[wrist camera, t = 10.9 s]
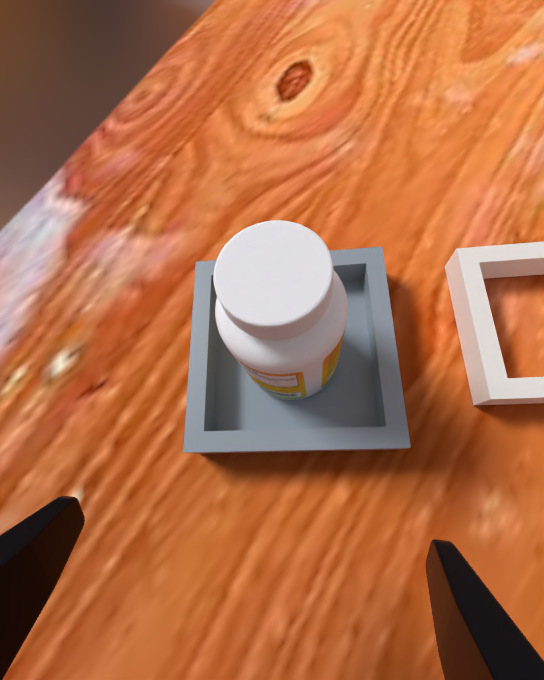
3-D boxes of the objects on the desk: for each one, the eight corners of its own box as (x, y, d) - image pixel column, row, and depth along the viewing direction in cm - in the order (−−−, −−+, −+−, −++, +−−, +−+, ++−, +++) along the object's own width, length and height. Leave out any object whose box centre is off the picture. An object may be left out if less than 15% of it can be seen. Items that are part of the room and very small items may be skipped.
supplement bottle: (310, 298, 21) (306, 177, 12) (356, 373, 20) (391, 297, 10) (232, 338, 21) (168, 244, 12) (271, 418, 19) (230, 379, 10)
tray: (398, 449, 19) (410, 447, 16) (199, 453, 20) (183, 452, 17) (375, 269, 22) (382, 246, 20) (208, 281, 23) (195, 261, 21)
